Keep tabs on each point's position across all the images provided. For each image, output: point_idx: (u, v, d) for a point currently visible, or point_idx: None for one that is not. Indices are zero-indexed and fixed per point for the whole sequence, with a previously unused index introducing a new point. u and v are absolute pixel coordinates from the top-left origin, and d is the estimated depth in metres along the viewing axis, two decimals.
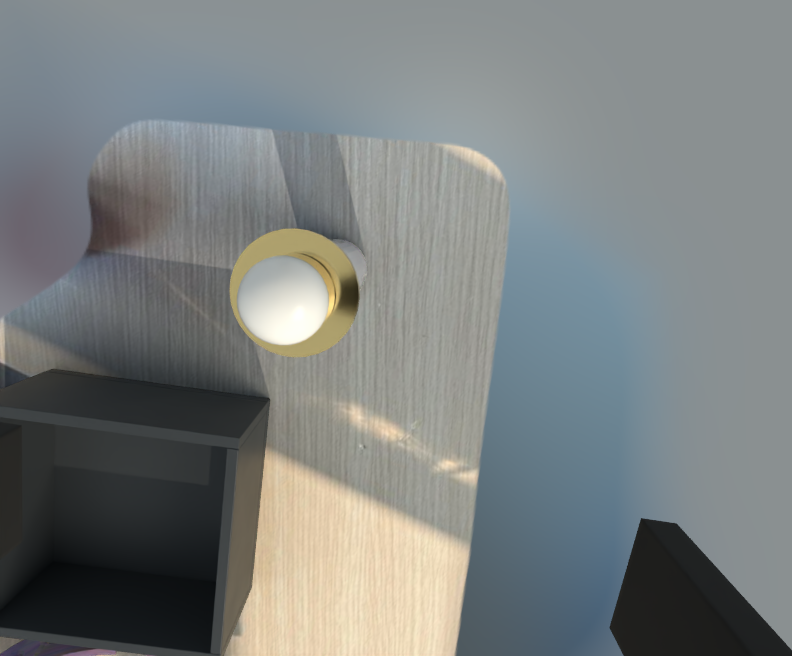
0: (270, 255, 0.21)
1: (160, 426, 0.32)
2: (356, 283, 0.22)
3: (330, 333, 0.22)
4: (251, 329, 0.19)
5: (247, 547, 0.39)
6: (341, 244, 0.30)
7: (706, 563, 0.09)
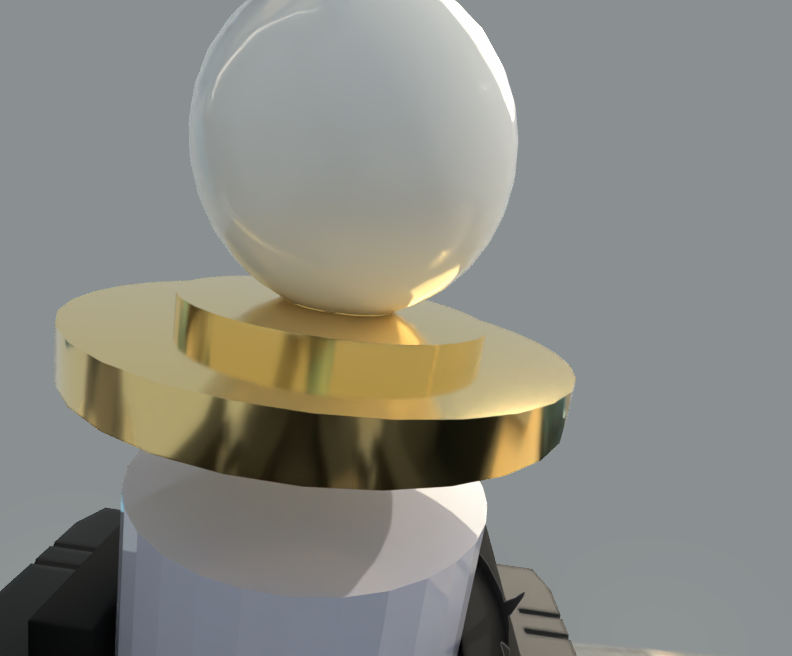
0: (164, 322, 0.05)
1: None
2: None
3: None
4: (481, 37, 0.05)
5: None
6: None
7: None
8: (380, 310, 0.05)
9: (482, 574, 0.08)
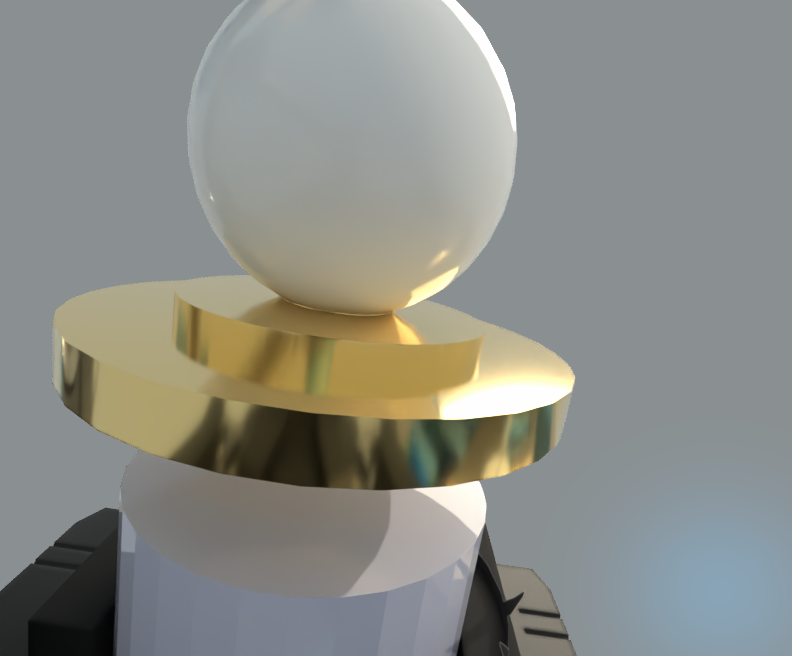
0: (163, 321, 0.05)
1: None
2: None
3: None
4: (480, 36, 0.05)
5: None
6: None
7: None
8: (379, 310, 0.05)
9: (482, 574, 0.08)
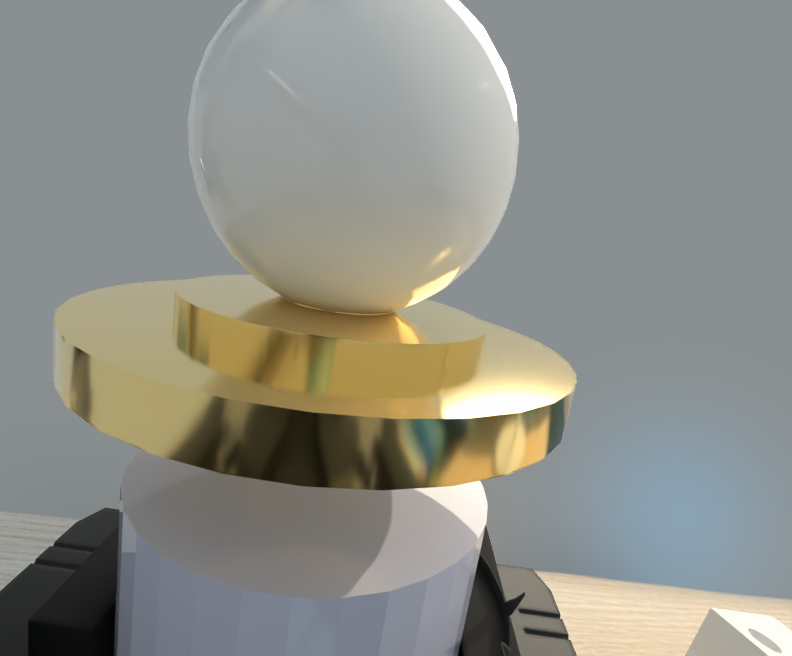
0: (164, 321, 0.05)
1: None
2: None
3: None
4: (481, 34, 0.05)
5: None
6: None
7: None
8: (380, 309, 0.05)
9: (482, 574, 0.08)
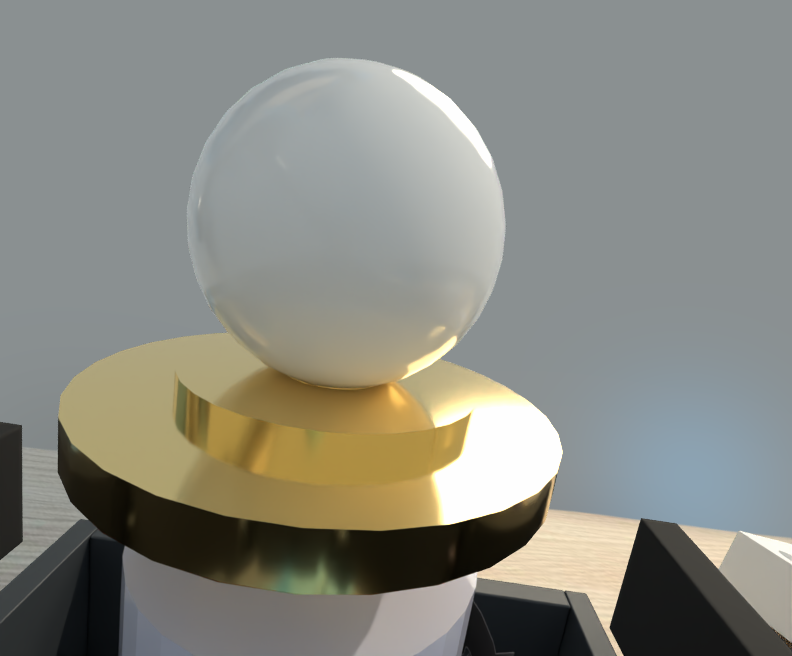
0: (164, 404, 0.05)
1: None
2: None
3: None
4: (468, 134, 0.05)
5: None
6: None
7: (706, 563, 0.09)
8: (373, 386, 0.06)
9: None
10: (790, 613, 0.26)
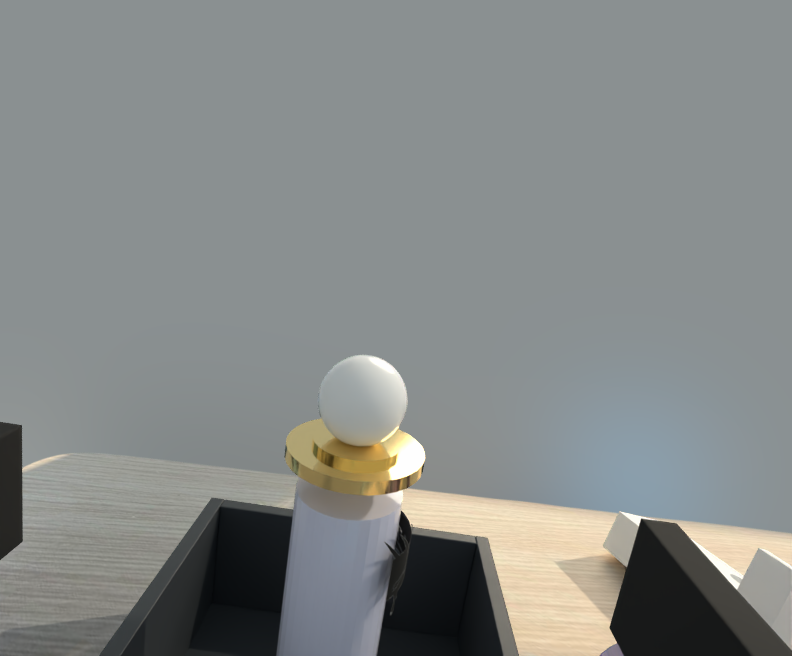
0: (314, 452, 0.19)
1: (172, 555, 0.26)
2: None
3: (393, 432, 0.22)
4: (393, 384, 0.19)
5: None
6: None
7: (706, 563, 0.09)
8: (369, 446, 0.20)
9: None
10: None
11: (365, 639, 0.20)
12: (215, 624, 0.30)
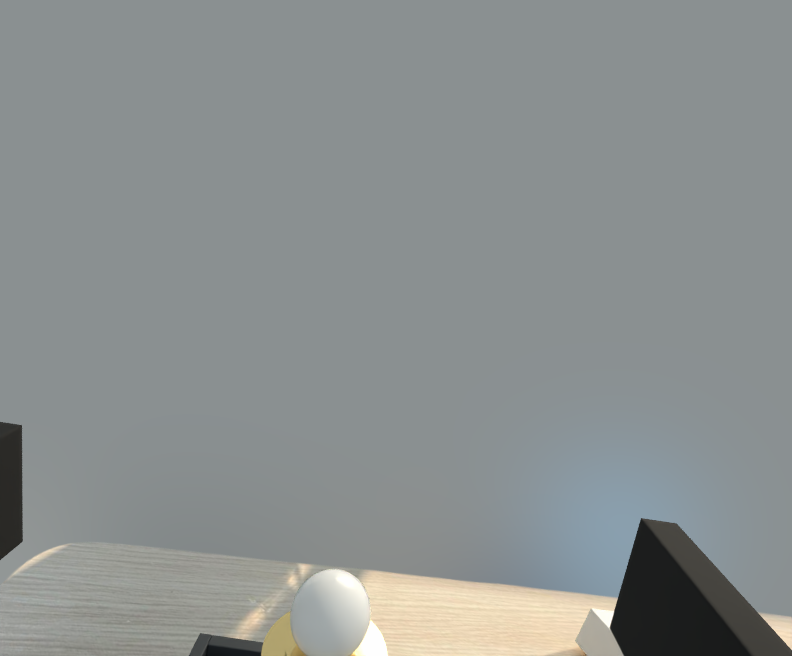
0: None
1: None
2: None
3: None
4: (356, 611, 0.21)
5: None
6: None
7: (706, 563, 0.09)
8: None
9: None
10: None
11: None
12: None
